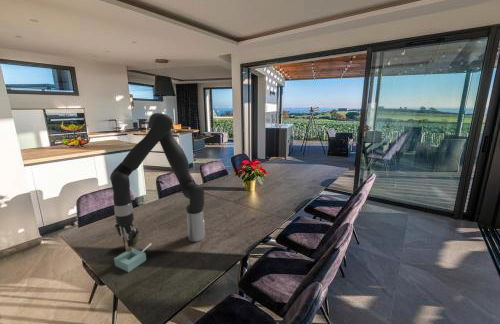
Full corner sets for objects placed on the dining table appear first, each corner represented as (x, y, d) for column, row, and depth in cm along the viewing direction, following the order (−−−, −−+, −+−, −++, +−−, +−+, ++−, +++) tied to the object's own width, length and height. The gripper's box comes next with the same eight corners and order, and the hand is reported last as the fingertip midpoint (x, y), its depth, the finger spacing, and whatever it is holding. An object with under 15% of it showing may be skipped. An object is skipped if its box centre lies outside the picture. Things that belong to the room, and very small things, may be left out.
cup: (142, 243, 133) (141, 230, 131) (133, 250, 126) (132, 237, 124) (131, 241, 135) (129, 228, 133) (122, 248, 128) (120, 235, 126)
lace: (150, 244, 132) (150, 243, 132) (151, 244, 132) (151, 243, 132) (138, 254, 123) (138, 253, 123) (139, 255, 123) (139, 254, 123)
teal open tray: (133, 254, 123) (132, 247, 122) (146, 260, 119) (145, 253, 118) (114, 265, 114) (113, 258, 114) (128, 272, 110) (127, 264, 109)
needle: (129, 248, 117) (126, 225, 114) (133, 249, 115) (130, 227, 112) (124, 251, 114) (121, 228, 111) (128, 252, 113) (125, 229, 110)
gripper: (141, 212, 110) (144, 244, 114) (121, 206, 117) (126, 237, 121) (126, 218, 104) (131, 253, 108) (107, 212, 110) (112, 245, 114)
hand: (128, 244), depth 114 cm, fingers closed on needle, 2 cm apart
